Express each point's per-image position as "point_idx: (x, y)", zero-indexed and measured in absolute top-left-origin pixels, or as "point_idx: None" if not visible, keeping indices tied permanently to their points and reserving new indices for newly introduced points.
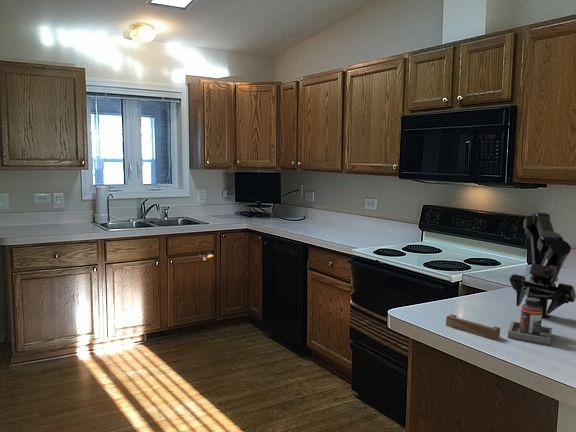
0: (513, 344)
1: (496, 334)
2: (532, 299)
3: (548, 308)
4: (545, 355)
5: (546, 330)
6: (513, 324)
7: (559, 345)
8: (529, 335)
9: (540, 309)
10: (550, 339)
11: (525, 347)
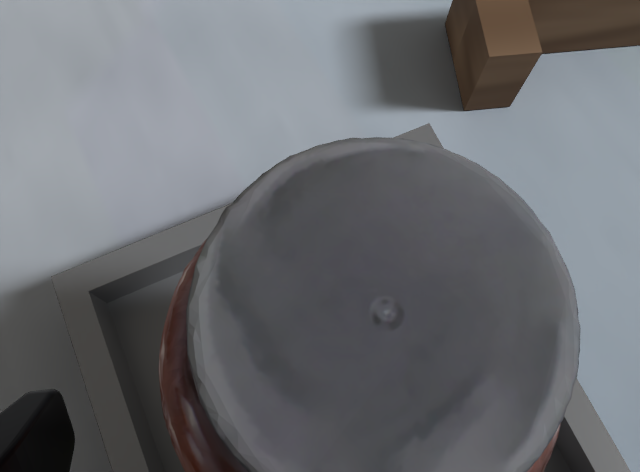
0: (296, 57)
1: (460, 28)
2: (365, 256)
3: (9, 430)
4: (23, 51)
5: None
6: None
7: (15, 387)
8: None
9: (166, 326)
10: (52, 276)
11: (202, 76)
